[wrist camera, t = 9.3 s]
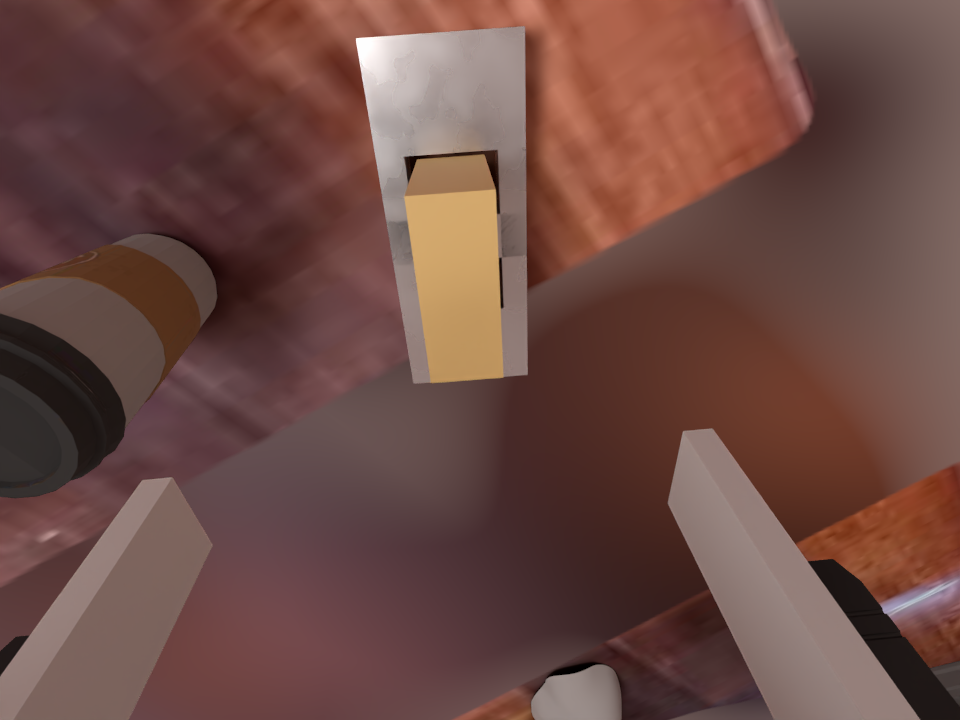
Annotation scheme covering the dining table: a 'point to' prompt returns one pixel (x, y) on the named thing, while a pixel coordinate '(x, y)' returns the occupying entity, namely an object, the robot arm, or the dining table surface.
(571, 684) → the head bust
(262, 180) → the dining table surface
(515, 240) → the grey slotted base plate
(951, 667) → the lantern
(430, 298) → the yellow block
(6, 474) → the coffee cup
